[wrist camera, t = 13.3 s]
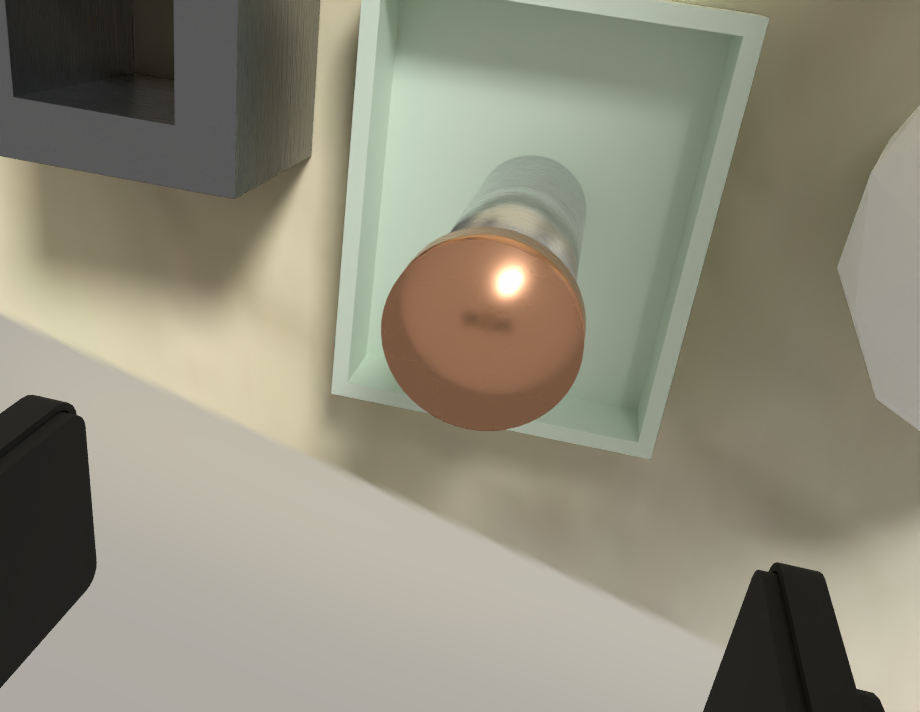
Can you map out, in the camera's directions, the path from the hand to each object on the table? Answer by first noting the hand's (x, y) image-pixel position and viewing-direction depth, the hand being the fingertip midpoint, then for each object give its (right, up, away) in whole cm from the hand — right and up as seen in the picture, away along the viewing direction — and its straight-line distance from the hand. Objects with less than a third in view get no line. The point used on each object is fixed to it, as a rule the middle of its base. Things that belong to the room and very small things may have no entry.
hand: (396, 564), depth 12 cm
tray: (+3, +8, +20) cm, 22 cm away
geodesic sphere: (+20, +8, +17) cm, 27 cm away
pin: (+3, +8, +19) cm, 21 cm away
